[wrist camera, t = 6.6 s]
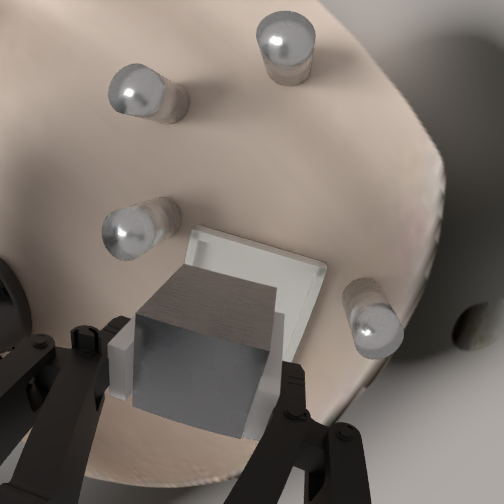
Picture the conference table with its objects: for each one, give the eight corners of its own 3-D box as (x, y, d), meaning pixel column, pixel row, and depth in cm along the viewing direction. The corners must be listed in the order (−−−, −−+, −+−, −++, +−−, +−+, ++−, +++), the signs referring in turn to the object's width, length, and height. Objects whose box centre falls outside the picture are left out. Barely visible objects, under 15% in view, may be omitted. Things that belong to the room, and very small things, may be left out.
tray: (285, 367, 34) (284, 378, 32) (175, 333, 34) (169, 342, 32) (325, 262, 30) (327, 269, 28) (197, 224, 31) (191, 228, 29)
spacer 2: (177, 242, 31) (141, 267, 24) (141, 231, 32) (99, 252, 24) (185, 203, 30) (150, 217, 23) (148, 193, 31) (105, 204, 23)
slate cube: (255, 364, 18) (240, 439, 12) (172, 341, 18) (132, 406, 13) (277, 287, 17) (269, 351, 11) (184, 263, 17) (135, 313, 11)
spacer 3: (304, 91, 26) (307, 66, 18) (261, 80, 26) (249, 52, 19) (315, 53, 25) (321, 18, 17) (272, 43, 25) (264, 6, 18)
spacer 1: (183, 127, 28) (146, 117, 21) (146, 120, 29) (102, 110, 21) (194, 87, 27) (161, 65, 20) (157, 82, 27) (116, 62, 20)
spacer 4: (371, 319, 31) (390, 363, 23) (336, 309, 31) (346, 353, 24) (387, 284, 30) (411, 321, 22) (350, 273, 30) (367, 309, 22)
